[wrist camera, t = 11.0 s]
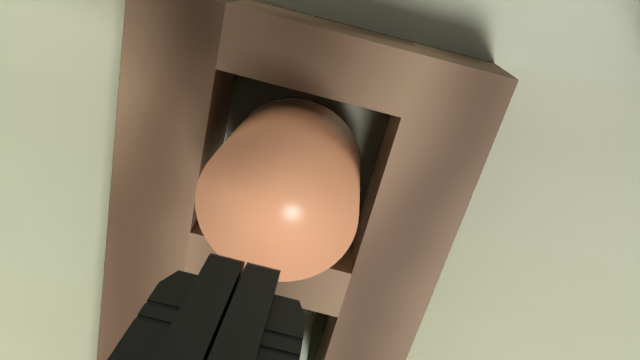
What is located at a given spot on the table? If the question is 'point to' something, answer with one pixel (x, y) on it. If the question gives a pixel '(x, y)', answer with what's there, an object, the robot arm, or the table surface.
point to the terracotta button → (283, 190)
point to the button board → (321, 80)
